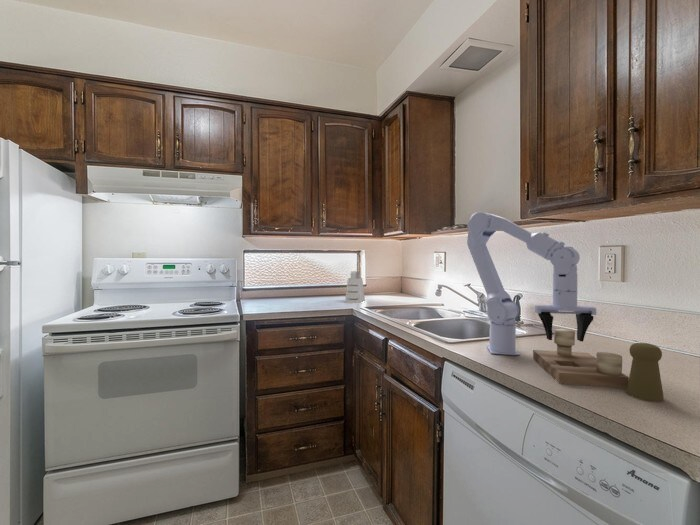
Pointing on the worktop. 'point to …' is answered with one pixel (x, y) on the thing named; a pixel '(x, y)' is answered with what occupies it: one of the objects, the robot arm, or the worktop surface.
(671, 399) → the worktop surface
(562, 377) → the board
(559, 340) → the peg
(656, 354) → the olive pawn piece
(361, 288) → the grater
